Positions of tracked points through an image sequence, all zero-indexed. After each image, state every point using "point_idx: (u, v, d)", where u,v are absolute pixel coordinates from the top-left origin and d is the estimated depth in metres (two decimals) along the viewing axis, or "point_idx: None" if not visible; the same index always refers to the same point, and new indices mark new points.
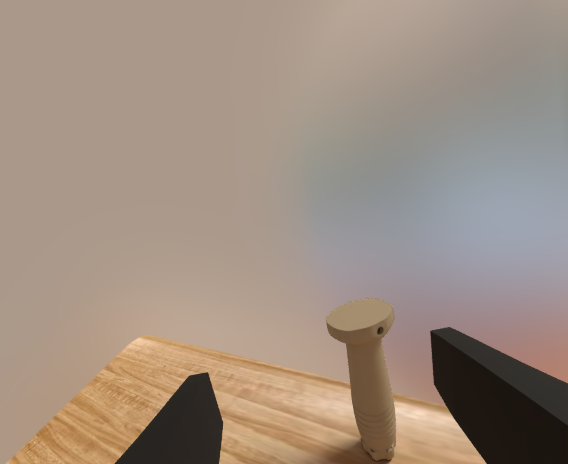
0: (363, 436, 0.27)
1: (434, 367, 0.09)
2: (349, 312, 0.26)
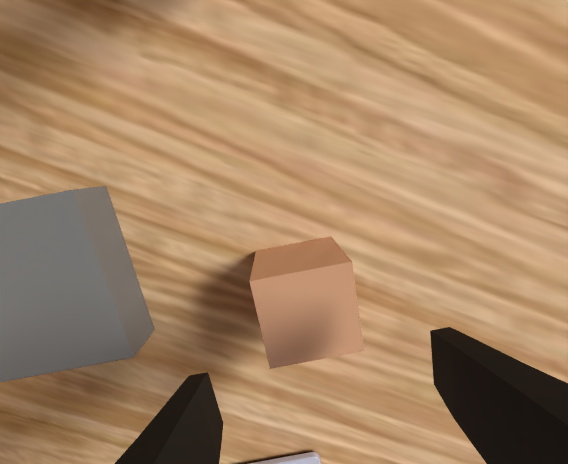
0: None
1: (434, 367, 0.09)
2: None
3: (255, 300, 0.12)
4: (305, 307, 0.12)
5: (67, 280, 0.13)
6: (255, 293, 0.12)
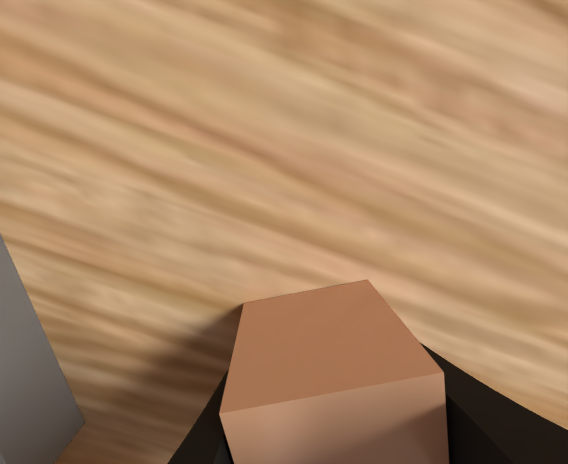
0: None
1: None
2: None
3: (233, 450, 0.06)
4: (338, 460, 0.06)
5: None
6: (232, 437, 0.06)
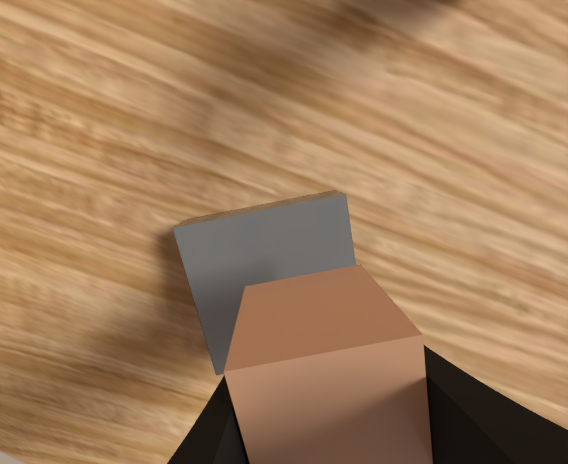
0: None
1: None
2: None
3: (236, 405, 0.06)
4: (330, 416, 0.06)
5: None
6: (235, 393, 0.06)
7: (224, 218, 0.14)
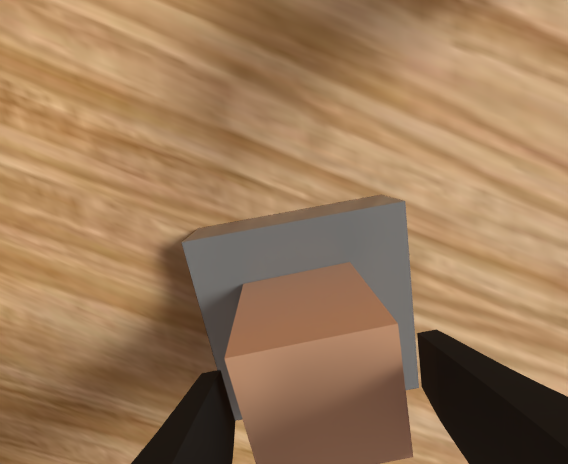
0: None
1: (421, 369, 0.09)
2: None
3: (235, 388, 0.07)
4: (318, 396, 0.07)
5: None
6: (235, 377, 0.07)
7: (248, 230, 0.11)
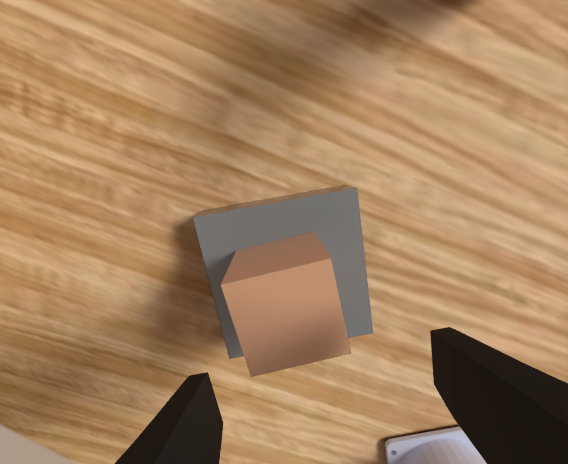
0: None
1: (434, 367, 0.09)
2: None
3: (229, 305, 0.11)
4: (283, 310, 0.11)
5: (334, 265, 0.16)
6: (228, 297, 0.11)
7: (242, 209, 0.15)
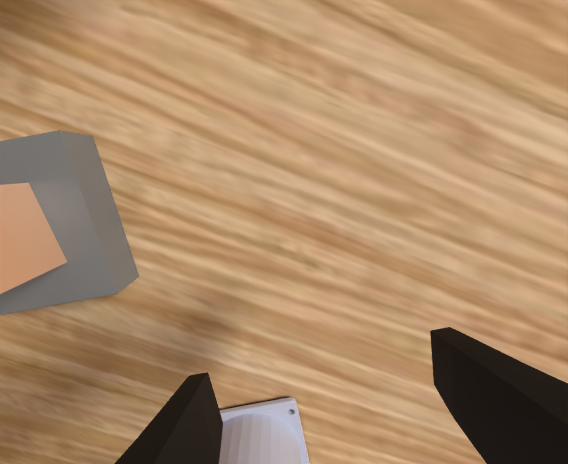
0: None
1: (434, 367, 0.09)
2: None
3: None
4: None
5: (55, 217, 0.15)
6: None
7: None
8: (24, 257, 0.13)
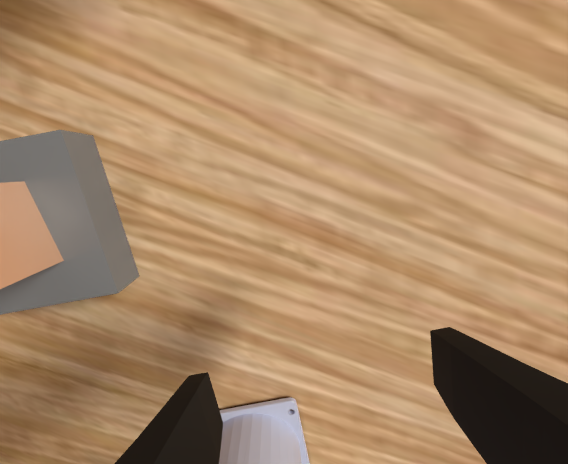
0: None
1: (434, 367, 0.09)
2: None
3: None
4: None
5: (56, 217, 0.15)
6: None
7: None
8: (20, 255, 0.13)
